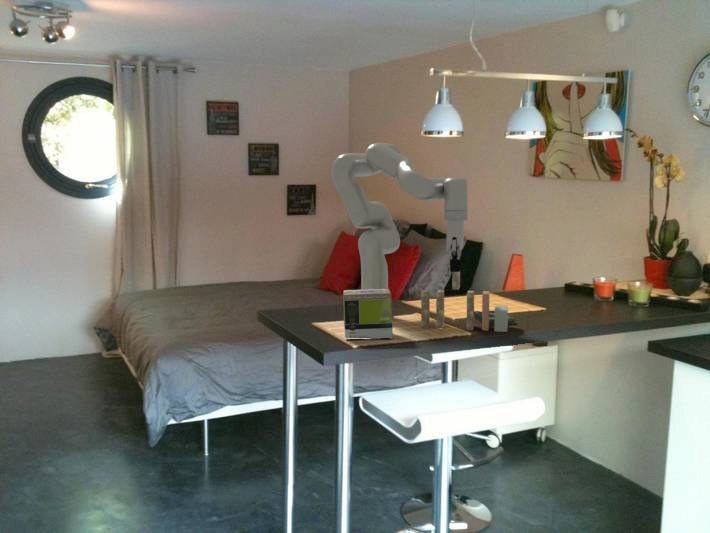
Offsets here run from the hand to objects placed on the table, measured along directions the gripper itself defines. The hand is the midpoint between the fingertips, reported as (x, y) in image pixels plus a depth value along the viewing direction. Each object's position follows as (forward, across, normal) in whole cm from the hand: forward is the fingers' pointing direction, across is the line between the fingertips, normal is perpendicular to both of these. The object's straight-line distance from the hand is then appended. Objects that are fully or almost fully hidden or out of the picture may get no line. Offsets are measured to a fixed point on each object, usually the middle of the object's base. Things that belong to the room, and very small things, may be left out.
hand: (456, 269), depth 237 cm
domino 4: (+19, 0, +5) cm, 20 cm away
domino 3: (+6, 0, 0) cm, 6 cm away
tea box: (+20, +18, -26) cm, 37 cm away
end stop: (+19, 0, +15) cm, 24 cm away
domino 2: (+19, 0, -5) cm, 20 cm away
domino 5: (+19, 0, +10) cm, 22 cm away
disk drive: (+20, -13, +12) cm, 27 cm away
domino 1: (+19, 0, -10) cm, 22 cm away
